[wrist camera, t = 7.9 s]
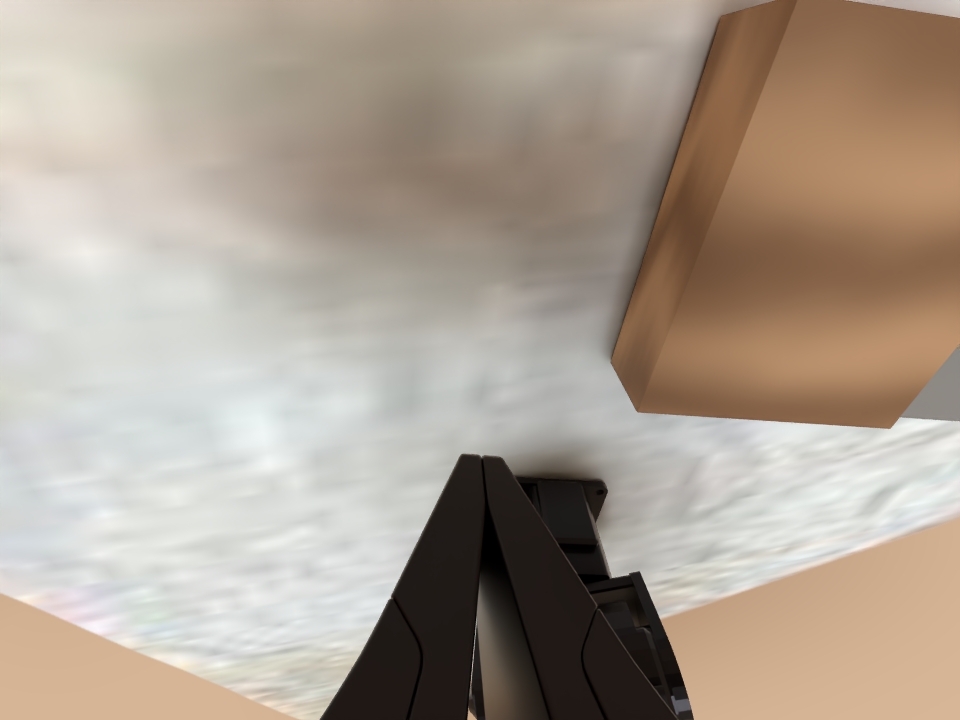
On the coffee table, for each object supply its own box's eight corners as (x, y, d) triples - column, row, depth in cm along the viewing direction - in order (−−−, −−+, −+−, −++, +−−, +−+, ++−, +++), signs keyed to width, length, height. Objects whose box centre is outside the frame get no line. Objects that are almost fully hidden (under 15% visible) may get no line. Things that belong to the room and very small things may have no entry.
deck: (827, 378, 23) (890, 428, 19) (610, 362, 22) (637, 412, 18) (1035, 62, 15) (1195, 54, 12) (721, 16, 14) (800, -7, 11)
